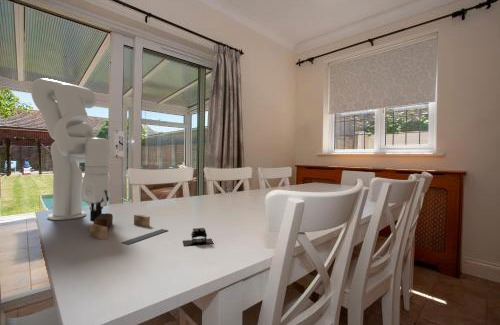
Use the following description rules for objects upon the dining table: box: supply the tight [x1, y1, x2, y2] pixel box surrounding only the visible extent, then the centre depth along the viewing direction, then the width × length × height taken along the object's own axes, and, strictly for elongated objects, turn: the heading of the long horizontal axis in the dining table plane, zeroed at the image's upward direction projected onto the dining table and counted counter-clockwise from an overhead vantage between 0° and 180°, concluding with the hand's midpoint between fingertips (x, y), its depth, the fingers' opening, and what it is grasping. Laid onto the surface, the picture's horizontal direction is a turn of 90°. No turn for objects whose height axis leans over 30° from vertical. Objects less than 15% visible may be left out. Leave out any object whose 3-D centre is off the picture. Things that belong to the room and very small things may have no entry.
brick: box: [93, 212, 114, 230], centre depth 87 cm, size 11×4×5 cm, turn 19°
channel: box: [89, 213, 151, 240], centre depth 85 cm, size 6×18×4 cm, turn 154°
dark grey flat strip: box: [121, 228, 169, 246], centre depth 80 cm, size 3×16×1 cm, turn 154°
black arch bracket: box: [182, 227, 215, 248], centre depth 77 cm, size 12×7×5 cm, turn 109°
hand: (95, 220), depth 91 cm, fingers closed
